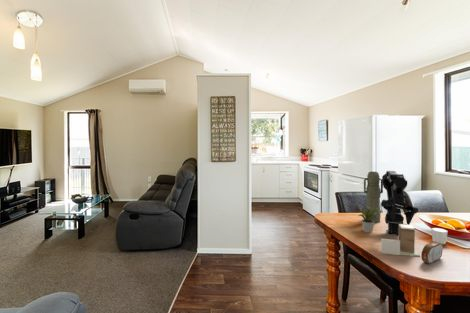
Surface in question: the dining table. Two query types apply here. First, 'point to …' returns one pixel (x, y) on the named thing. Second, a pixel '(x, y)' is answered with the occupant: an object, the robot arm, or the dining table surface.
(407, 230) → the marked block
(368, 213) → the house plant
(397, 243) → the low screen
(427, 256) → the tin
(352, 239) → the dining table surface
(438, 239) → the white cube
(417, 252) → the pad
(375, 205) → the thermos
